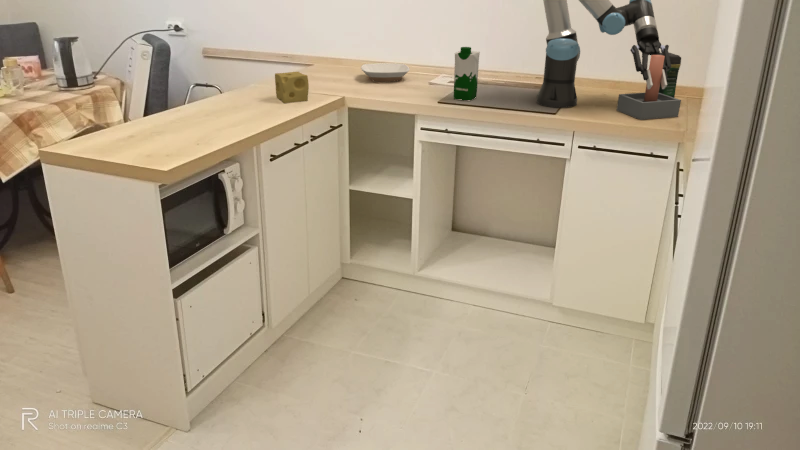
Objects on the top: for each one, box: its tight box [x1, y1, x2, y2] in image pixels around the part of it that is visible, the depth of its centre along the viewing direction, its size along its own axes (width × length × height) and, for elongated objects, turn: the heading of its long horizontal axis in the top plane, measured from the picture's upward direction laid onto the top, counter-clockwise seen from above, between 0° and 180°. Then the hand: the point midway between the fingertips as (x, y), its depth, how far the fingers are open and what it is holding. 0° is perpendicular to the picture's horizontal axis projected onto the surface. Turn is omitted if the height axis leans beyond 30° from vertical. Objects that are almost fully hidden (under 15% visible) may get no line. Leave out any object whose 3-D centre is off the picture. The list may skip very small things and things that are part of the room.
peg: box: [644, 55, 665, 102], centre depth 227 cm, size 4×4×16 cm
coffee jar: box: [659, 51, 682, 98], centre depth 247 cm, size 10×8×19 cm
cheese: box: [274, 71, 310, 104], centre depth 247 cm, size 10×11×10 cm
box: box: [616, 92, 682, 121], centre depth 231 cm, size 16×14×6 cm
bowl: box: [360, 62, 410, 83], centre depth 285 cm, size 22×22×5 cm
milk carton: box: [453, 46, 481, 101], centre depth 248 cm, size 9×9×20 cm
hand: (657, 86), depth 225 cm, fingers closed on peg, 4 cm apart
